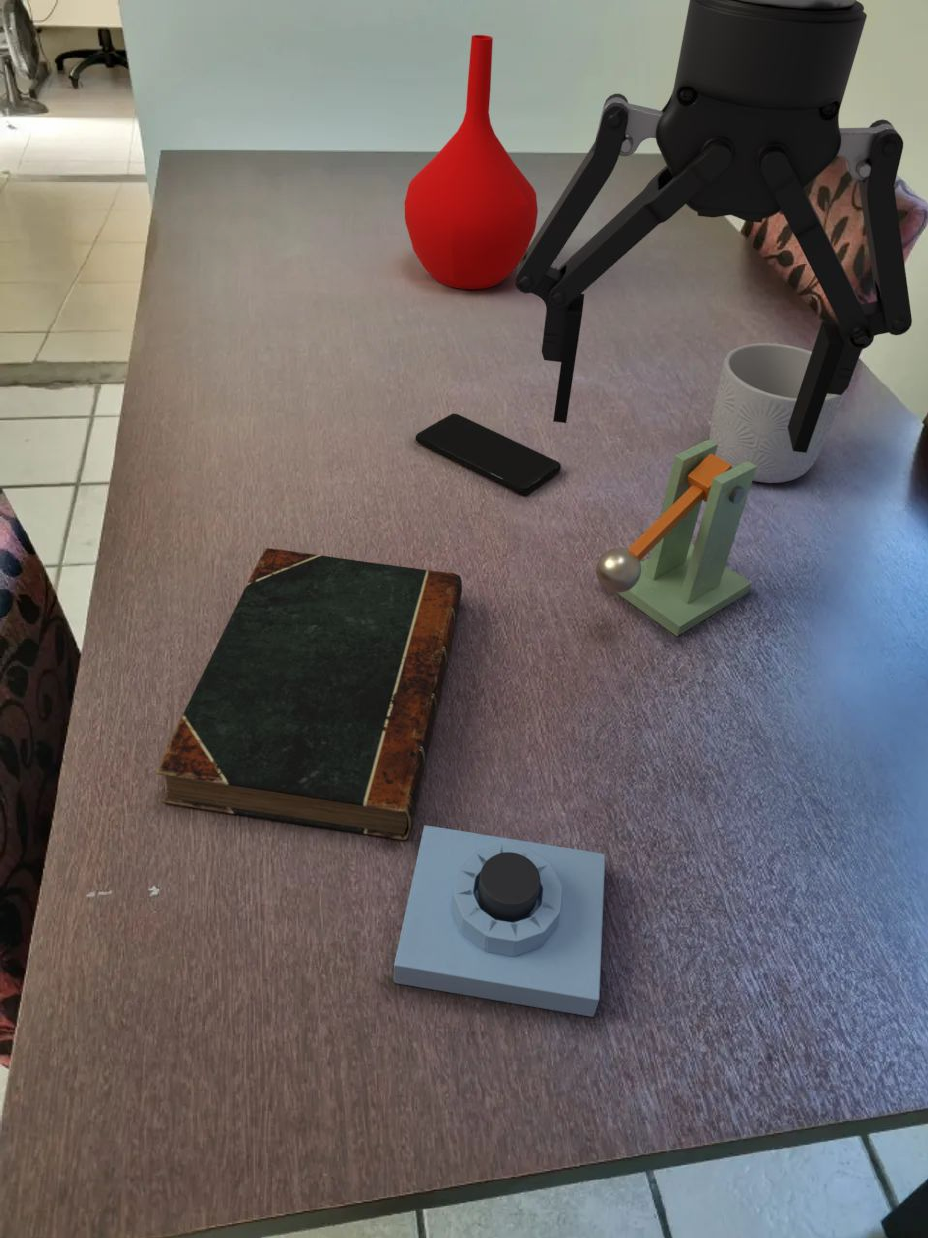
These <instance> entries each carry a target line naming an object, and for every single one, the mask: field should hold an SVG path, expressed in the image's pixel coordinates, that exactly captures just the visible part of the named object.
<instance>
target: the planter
mask: <svg viewBox="0 0 928 1238" xmlns="http://www.w3.org/2000/svg"><path fill="white" fill-rule="evenodd" d="M811 354H812V351H811V350H808V349H805V348H802V347H798V346H795V345H794V346H793V345H788V344H782V343H774V342H773V343H772V342H759V343H750V344H748V343H747V344H744V345H740V346H738V347H735V348H733V349H732V350H731V351H729V352H728V353H727V354H726V355H725V358H724V360H723V365H722V369H721V372H720V378H719V382H718V385H717V391H716V395H715V399H714V404H713V410H712V414H711V420H710V427H709V435H708V437H709V439H710V440H711V441H713V442H715V443H717V444H718V446H717V450H716V454H715V456H716V457H718V458H720V459H722V460H723V461H725V462H727V463H729V464H730V465H731V466H732V468H734V467H736V466H738V465H740V464H742V463H744V462H746V461H749V462H750V463H752V464H754V465H756V466H757V468H756V471H755V474H754V477H753V480H752V482H757V483H765V484H781V483H786V482H791V481H794V480H796V479H799V478H800V477H801V476H802V477H803V476H804V475H805V474H807V472H808V471H809V470H810V469H811V468H812V467H813V465H814V464H815V462H816V461H817V459H818V458H819V455H820V453H821V452H822V450H823V448H824V447H825V446H824V445H825V443H826V441H827V439H828V436H829V435H830V432H831V430H832V428H833V425H834V423H835V420H836V418H837V416H838V412H839V410H840V408H841V406H842V403H843V401H844V398H845V395H846V394H847V391H848V388H847V389H846V390H845V391H844V393H843V394H842V395H835V394H827V395H826V398H825V401H824V404H823V407H822V410H821V412H820V415H819V418H818V421H817V424H816V427H815V430H814V433H813V435H812V438H811V441H810V444H809V447H808V450H807V453H804V452H796V451H793V449H792V445H791V440H790V436H789V431H788V424H789V421H790V418H791V415H792V412H793V409H794V406H795V403H796V400H797V397H798V394H799V391H800V387H801V384H802V381H803V378H804V375H805V372H806V369H807V366H808V363H809V360H810V357H811ZM709 439H708V440H709Z"/></svg>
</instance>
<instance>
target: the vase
mask: <svg viewBox="0 0 928 1238" xmlns="http://www.w3.org/2000/svg"><path fill="white" fill-rule="evenodd" d="M493 41H494V38H493V36H490V35H486V34H474V35H473V34H472V35H471V37H470V50H469V64H468V75H467V86H466V87H467V88H466V104H465V113H464V116H463V119H462V122H461V123H460V126H459V128H458V129H457V131H456V132H455V133H454V134H453V135H452V137H451V138H449V140H448V141H447V142H446V143H445V144H444V146H443V147H442V148H441V149H440V150H439V152H438V153H436V155H435V156H434V157H433V158H432V159H431V160H430V161H428V163H427V164H426V165H425V166H424V167H423V168H422V169H420V170H419V172H418V173H417V174H416V175H414V177H412V179H411V180H410V182H409V183H408V186H407V190H406V195H405V199H404V222H405V225H406V226H405V227H406V230H407V232H408V236H409V239H410V243H411V246H412V250H413V252H414V254H415V255H416V257H417V259H418V261H419V262H420V264H421V266H422V267H423V269H425V270H426V271H427V272H428V273H429V275H430V276H431V277H432V278H433V279H434V280H435V281H437V282H438V283H440V284H441V285H445V286H447V287H450V288H455V289H460V290H461V289H462V290H483V289H484V290H485V289H488V288H492V287H494V286H497V285H499V284H500V283H502V281H504V280H506V278H508V277H509V276H510V275H511V274H512V273H513V272H514V270H515V269H516V268H517V267H518V266H519V264H520V261H521V259H522V257H523V255H524V254H525V252H526V251H527V249H528V247H529V246H530V244H531V242H532V240H533V237H534V234H535V232H536V229H537V222H538V213H539V209H538V199H537V193H536V190H535V188H534V187H533V186H532V184H531V182H529V180H528V179H527V178H526V176H525V175H524V173H522V171H521V170H520V169H519V167H518V166H517V164H516V163H515V162H514V160H513V159H512V157H511V156H510V155H509V153H508V152H507V150H506V149H505V147H504V145H503V144H502V143H501V141H500V140H499V138H498V137H497V135H496V134H495V131H494V128H493V126H492V123H491V118H490V102H491V101H490V100H491V84H492V64H493V62H492V61H493V43H494V42H493Z"/></svg>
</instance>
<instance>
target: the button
mask: <svg viewBox="0 0 928 1238" xmlns="http://www.w3.org/2000/svg"><path fill="white" fill-rule="evenodd" d="M539 888H540V874H539V871H538V869H537V868H536V866H535V865H534V863H533V862H532V861H531V860H529V859H528V858H526V857H525V856H523V855H520V854H517V853H512V852H505V853H499V854H496V855H494V856H492V857H491V858H489V859H488V860H487V861H486V862H485V864H484V865H483V867H482V869H481V873H480V881H479V889H478V895H479V899H480V902H481V904H482V905H483V907H484V908H485V909H486V910H487V911H488V912H489V913H490V914H491V915H493V916H495V917H497V918H500V919H504V920H516V919H520V918H522V917H524V916H526V915H527V914H529V913H530V912H531V911H532V910H533V908H534V907H535V905H536V902H537V898H538V893H539Z"/></svg>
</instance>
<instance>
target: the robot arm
mask: <svg viewBox="0 0 928 1238" xmlns="http://www.w3.org/2000/svg"><path fill="white" fill-rule="evenodd" d="M864 10H865V6H864V4H863V3H861V2H860V1H858V0H689V2H688V8H687V13H686V19H685V25H684V30H683V35H682V41H681V46H680V52H679V57H678V62H677V68H676V73H675V78H674V85H673V89H672V92H671V95H670V97H669V99H668V101H667V102H666V103H665V105H664V107H663V108H662V109H661V110H659V109H656V108H651V107H646V106H642V105H637V104H634V103H629V100H628V99H627V97H626V96H625V95H624V94H621V93H613V94H611V95H608V97H607V98H606V99H605V102H604V104H603V107H602V111H601V115H600V120H599V124H598V128H597V131H596V135H595V140H594V142H593V144H592V145H591V147H590V149H589V150H588V152H587V153H586V155H585V157H584V158H583V160H582V161H581V163H580V165H579V166H578V168H577V170H576V171H575V173H574V174H573V176H572V177H571V179H570V181H569V182H568V183H567V185H566V187H565V188H564V190H563V191H562V193H561V194H560V197H558V199H557V200H556V203H555V204H554V206H553V208H552V209H551V211H550V213H549V214H548V215H547V217H546V219H545V220H544V222H543V224H542V225H541V227H540V228H539V230H538V231H537V233H536V235H535V236H534V238H533V239H532V240H531V242H530V244H529V246H528V248H527V250H526V252H525V254H524V255H523V257H522V259H521V261H520V263H519V264H518V268H517V272H516V276H515V280H514V282H515V283H514V284H515V288H516V289H517V290H518V291H519V292H520V293H523V294H530V293H531V294H533V295H535V296H537V297H539V298H540V299H541V300H542V301H543V303H544V304H545V309H546V310H545V319H544V328H543V335H542V336H543V338H542V346H541V354H542V357H543V360H544V361H547V362H556V363H560V369H559V375H558V383H557V390H556V399H555V406H554V413H553V418H552V422H553V423H554V422H555V423H562V424H567V421H568V414H569V407H570V399H571V394H572V393H571V392H572V386H573V379H574V373H575V365H576V358H577V352H578V345H579V337H580V332H581V324H582V318H583V311H584V302H585V293H584V292H585V291H586V290H587V289H588V288H589V287H590V286H591V285H593V284H594V283H595V282H596V281H597V280H598V279H599V278H600V277H601V276H603V275H604V274H605V273H606V272H607V271H608V270H609V269H611V268H612V267H613V266H614V265H615V264H617V262H618V261H619V260H621V259H622V258H623V257H624V256H625V255H626V254H627V253H629V252H630V251H631V250H632V249H633V248H634V247H635V246H637V244H639V243H640V242H641V241H642V240H643V239H644V238H646V237H647V235H648V234H650V233H651V232H652V231H653V230H655V228H656V227H658V226H659V225H660V224H663V223H665V222H667V221H668V220H669V219H670V218H672V217H673V216H674V215H676V213H677V212H679V210H681V209H682V208H683V207H684V206H685V205H686V206H687V207H689V209H691V210H692V211H694V212H696V213H697V217H704V218H719V217H725V216H733V217H735V218H737V219H741V220H743V221H745V222H753V223H760V224H762V223H763V220H765V219H768V218H771V217H773V216H776V215H777V214H778V213H780V212H781V213H782V215H783V217H784V219H785V221H786V223H787V225H788V226H789V228H790V230H791V232H792V234H793V235H794V237H795V239H796V241H797V243H798V244H799V245H798V246H799V247H800V248H801V250H802V253H803V255H804V256H805V258H806V261H807V262H808V264H809V266H810V268H811V270H812V272H813V274H814V276H815V278H816V280H817V282H818V284H819V286H820V288H821V290H822V292H823V293H824V295H825V298H826V299H827V301H828V303H829V305H830V307H831V309H832V311H833V313H834V315H835V317H836V319H837V321H838V323H837V322H834V321H824V320H822V321H821V323H820V326H819V330H818V333H817V335H816V337H815V338H816V339H815V342H814V345H813V348H812V351H811V352H812V354H811V357H810V360H809V363H808V366H807V369H806V372H805V375H804V378H803V381H802V384H801V387H800V391H799V394H798V397H797V400H796V403H795V406H794V409H793V412H792V415H791V418H790V421H789V424H788V431H789V436H790V440H791V445H792V449H793V451H796V452H804V453H807V450H808V447H809V444H810V441H811V438H812V435H813V433H814V430H815V427H816V424H817V421H818V418H819V415H820V412H821V410H822V407H823V404H824V401H825V398H826V395H827V394H835V395H842V394H843V393H844V391H845V390H846V389H847V390H848V388H849V386H850V383H851V382H852V381H851V380H852V377H853V375H854V372H855V370H856V367H857V363H858V361H859V359H860V356H861V353H862V350H864V349H867V348H869V347H870V346H871V345H872V344H873V342H874V339H875V336H878V335H885V334H890V335H892V336H901V335H904V334H906V333H907V332H908V331H909V330H910V328H911V326H912V322H913V318H912V311H911V304H910V295H909V287H908V282H907V274H906V265H905V257H904V249H903V243H902V235H901V228H900V227H901V226H900V221H899V220H900V219H899V212H898V204H897V198H896V191H895V185H896V180H897V175H898V171H899V167H900V163H901V159H902V155H903V150H904V140H903V138H902V136H901V135H900V133H898V131H897V129H896V128H895V126H894V125H893V124H892V122H890V121H889V120H887V119H878V120H876V121H874V122H872V123H871V124H870V126H868V127H840V122H839V118H840V117H839V116H840V110H841V106H842V103H843V99H844V96H845V93H846V89H847V85H848V83H849V78H850V75H851V72H852V70H853V69H852V68H853V65H854V63H855V58H856V55H857V51H858V49H859V45H860V41H861V37H862V35H863V31H864V27H865V24H866V21H867V17H868V15H867V13H866V12H865V11H864ZM650 138H651V139H655V141H656V145H657V147H658V149H659V152H660V154H661V156H662V158H663V161H664V162H665V164H666V165H665V166H664V167H663V168H662V169H661V170H660V171H658V173H656V175H654V176H653V177H652V179H650V181H649V182H648V183H647V184H646V185H645V187H644V189H642V190H641V191H640V193H639V194H637V195H636V196H634V198H633V199H632V200H631V201H629V202H628V203H627V205H625V207H623V208H622V209H621V210H620V211H619V212H618V213H617V214H616V215H615V216H614V217H613V218H611V219H610V220H609V221H608V222H607V223H606V224H605V225H604V226H603V227H602V228H601V229H600V230H599V231H597V232H596V233H595V234H594V235H593V236H592V237H591V238H590V239H589V240H587V242H585V243H584V244H583V246H582V247H580V248H579V249H578V250H577V251H576V252H575V253H574V254H573V255H571V256H570V257H569V258H568V259H567V260H566V261H565V262H564V263H563V264H562V265H561V266H560V267H558V268H557V267H553V264H554V262H555V261H556V259H557V257H558V256H559V254H560V253H561V252H562V250H563V248H564V247H565V245H566V243H567V242H568V241H569V240H570V238H571V236H572V234H573V233H574V232H575V230H576V229H577V227H578V226H579V224H580V223H581V221H582V219H583V217H584V216H585V215H586V213H587V211H588V210H589V209H590V207H591V206H592V204H593V203H594V201H595V199H596V198H597V197H598V195H599V193H601V190H602V189H603V187H604V186H605V184H606V183H607V182H608V179H609V178H610V176H611V174H612V173H613V171H614V169H615V167H616V164H617V162H618V160H619V156H621V157H629V156H632V155H633V154H634V153H635V152H636V151H637V150H638V148H639V146H640V145H641V143H642V142H643V141H644V140H646V139H650ZM837 157H838V158H839V157H840V158H842V159H844V160H845V166H846V170H847V172H848V173H849V176H850V177H851V178H852V179H854V180H856V181H858V188H859V190H858V191H859V196H860V202H861V208H862V216H863V222H864V228H865V234H866V241H867V248H868V254H869V261H870V266H871V267H870V268H871V274H872V281H873V287H874V293H875V301H870V302H866V303H862V302H861V301H860V299H859V297H858V295H857V293H856V291H855V288H854V286H853V284H852V283H851V281H850V278H849V277H848V275H847V272H846V270H845V268H844V266H843V264H842V262H841V260H840V258H839V256H838V254H837V252H836V250H835V248H834V246H833V243H832V242H831V239H830V238H829V236H828V233H827V232H826V229H825V228H824V225H823V223H822V221H821V219H820V217H819V215H818V214H817V211H816V210H815V207H814V205H813V202H812V201H811V198H810V197H809V194H808V192H807V190H806V188H807V187H808V186H809V185H810V184H811V183H812V182H814V180H815V179H817V177H818V176H820V175H821V174H822V173H823V172H824V171H825V170H826V169H827V168H828V167H829V166H830V165H832V163H833V162H834V161H835V160H836V158H837Z"/></svg>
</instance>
